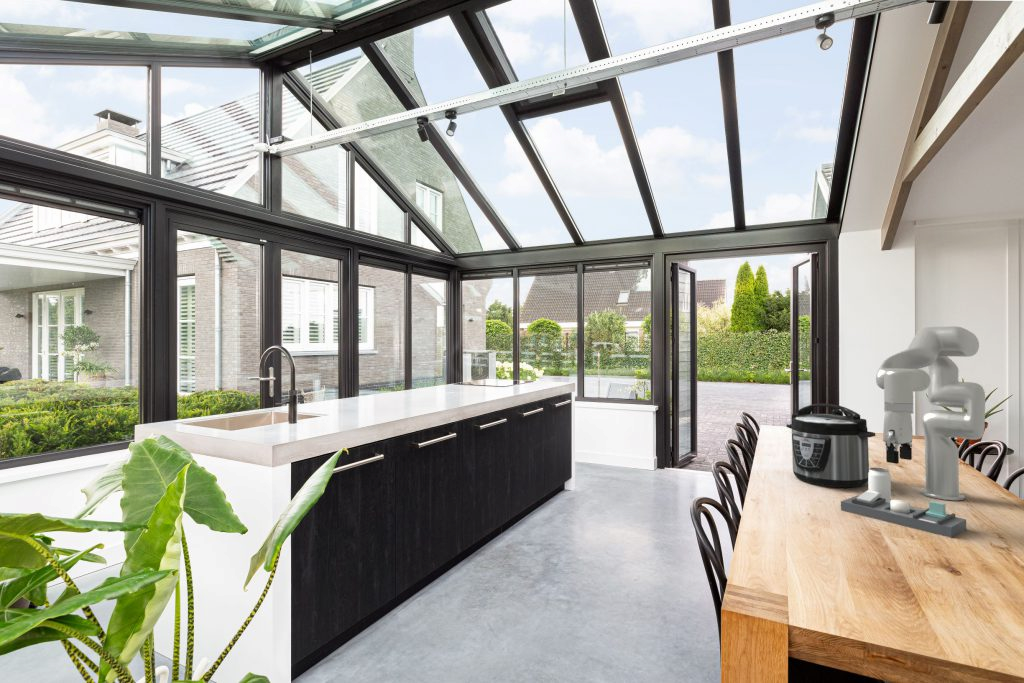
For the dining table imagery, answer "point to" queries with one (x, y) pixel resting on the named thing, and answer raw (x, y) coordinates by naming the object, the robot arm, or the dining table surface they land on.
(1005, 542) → the dining table surface
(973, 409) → the robot arm
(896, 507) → the push button
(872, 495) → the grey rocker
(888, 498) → the can
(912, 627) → the dining table surface
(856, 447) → the pressure cooker
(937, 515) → the teal slide switch
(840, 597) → the dining table surface
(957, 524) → the control panel
